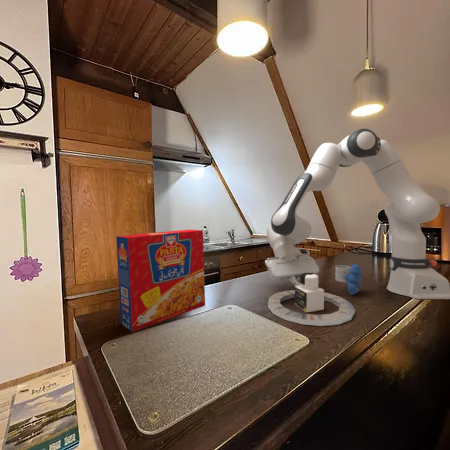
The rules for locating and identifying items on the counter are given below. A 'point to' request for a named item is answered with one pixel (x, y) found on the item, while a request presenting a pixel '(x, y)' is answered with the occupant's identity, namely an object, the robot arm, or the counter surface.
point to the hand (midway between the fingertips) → (301, 287)
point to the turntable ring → (335, 318)
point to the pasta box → (159, 276)
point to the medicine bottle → (309, 293)
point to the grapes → (353, 279)
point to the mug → (341, 272)
